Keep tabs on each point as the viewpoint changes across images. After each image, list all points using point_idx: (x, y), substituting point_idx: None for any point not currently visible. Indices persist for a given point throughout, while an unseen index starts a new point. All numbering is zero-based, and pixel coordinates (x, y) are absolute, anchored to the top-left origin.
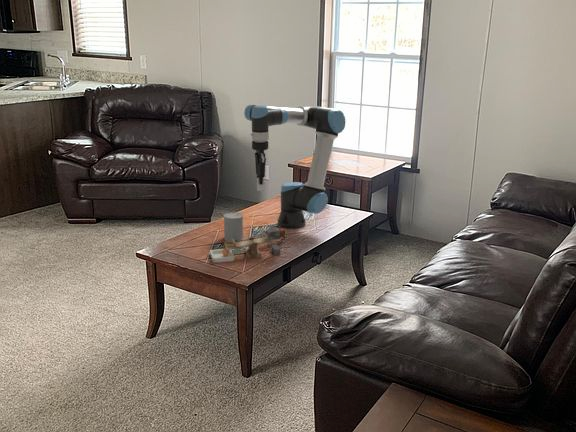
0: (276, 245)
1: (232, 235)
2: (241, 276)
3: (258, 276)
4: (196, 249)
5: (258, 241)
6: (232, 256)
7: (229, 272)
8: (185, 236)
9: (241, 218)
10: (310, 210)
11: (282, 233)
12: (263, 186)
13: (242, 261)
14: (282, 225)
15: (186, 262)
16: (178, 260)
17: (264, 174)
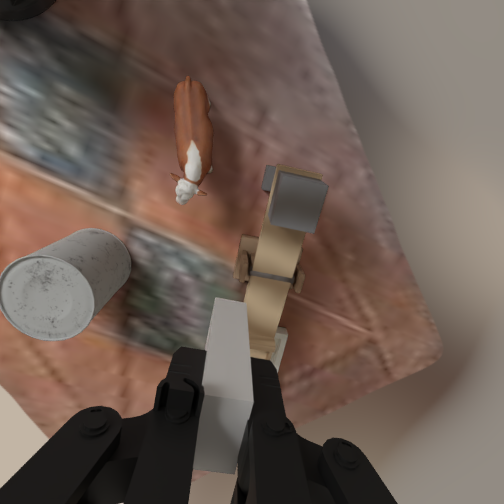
0: (272, 171)
1: (119, 286)
2: (394, 348)
3: (420, 309)
4: (151, 393)
5: (285, 260)
6: (283, 339)
7: (353, 366)
8: (24, 392)
9: (83, 270)
10: None
11: (209, 106)
12: (247, 324)
13: (302, 309)
14: (29, 9)
15: None
16: None
17: (388, 497)
